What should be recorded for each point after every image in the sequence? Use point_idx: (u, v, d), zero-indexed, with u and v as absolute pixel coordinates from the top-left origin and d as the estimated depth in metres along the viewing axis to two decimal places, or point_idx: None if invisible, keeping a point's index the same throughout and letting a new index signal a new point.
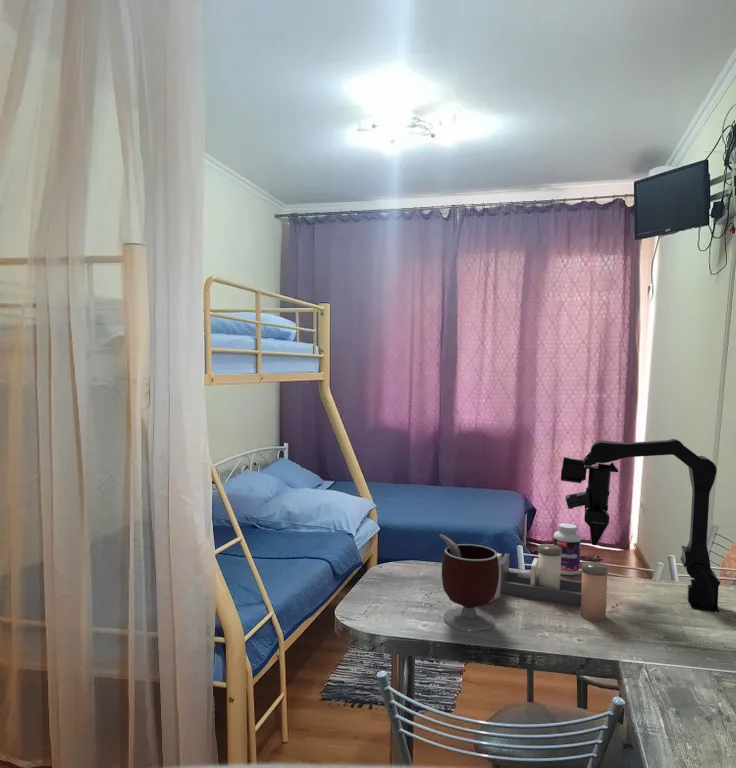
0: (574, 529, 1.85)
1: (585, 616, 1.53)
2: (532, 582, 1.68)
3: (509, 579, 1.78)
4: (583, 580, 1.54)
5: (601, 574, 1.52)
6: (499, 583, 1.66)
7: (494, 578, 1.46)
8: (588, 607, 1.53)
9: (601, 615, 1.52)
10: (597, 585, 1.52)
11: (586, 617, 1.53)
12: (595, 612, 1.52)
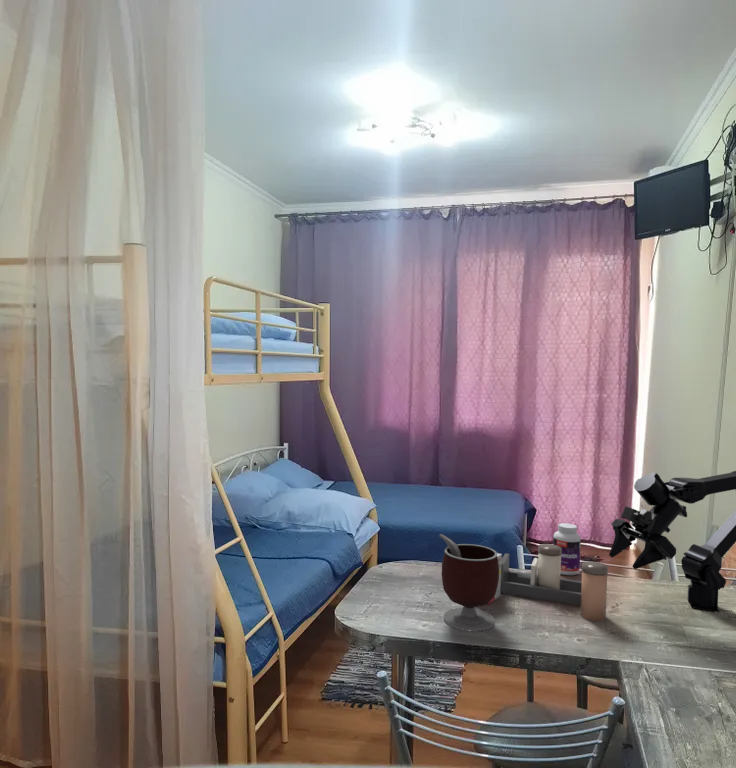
0: (574, 529, 1.85)
1: (585, 616, 1.53)
2: (532, 582, 1.68)
3: (509, 579, 1.78)
4: (583, 580, 1.54)
5: (601, 574, 1.52)
6: (499, 583, 1.66)
7: (494, 578, 1.46)
8: (588, 607, 1.53)
9: (601, 615, 1.52)
10: (597, 585, 1.52)
11: (586, 617, 1.53)
12: (595, 612, 1.52)
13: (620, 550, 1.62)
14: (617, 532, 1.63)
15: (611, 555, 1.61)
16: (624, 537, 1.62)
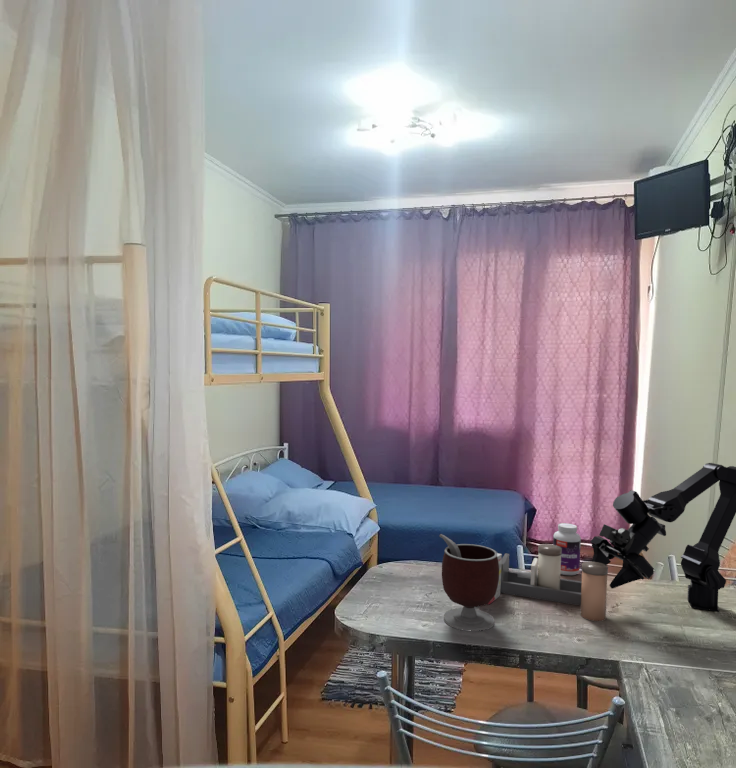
0: (574, 529, 1.85)
1: (585, 616, 1.53)
2: (532, 582, 1.68)
3: (509, 579, 1.78)
4: (583, 580, 1.54)
5: (601, 574, 1.52)
6: (499, 583, 1.66)
7: (494, 578, 1.46)
8: (588, 607, 1.53)
9: (601, 615, 1.52)
10: (597, 585, 1.52)
11: (586, 617, 1.53)
12: (595, 612, 1.52)
13: None
14: (596, 550, 1.61)
15: None
16: (603, 555, 1.61)
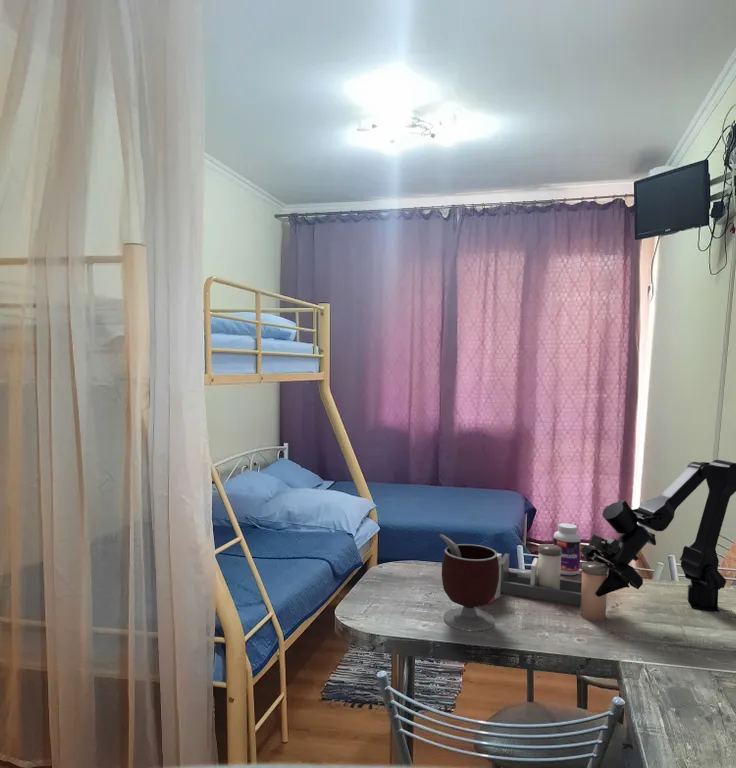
0: (574, 529, 1.85)
1: (585, 616, 1.53)
2: (532, 582, 1.68)
3: (509, 579, 1.78)
4: (583, 580, 1.54)
5: (601, 574, 1.52)
6: (499, 583, 1.66)
7: (494, 578, 1.46)
8: (588, 607, 1.53)
9: (601, 615, 1.52)
10: (596, 584, 1.52)
11: (586, 617, 1.53)
12: (595, 612, 1.52)
13: None
14: None
15: None
16: None
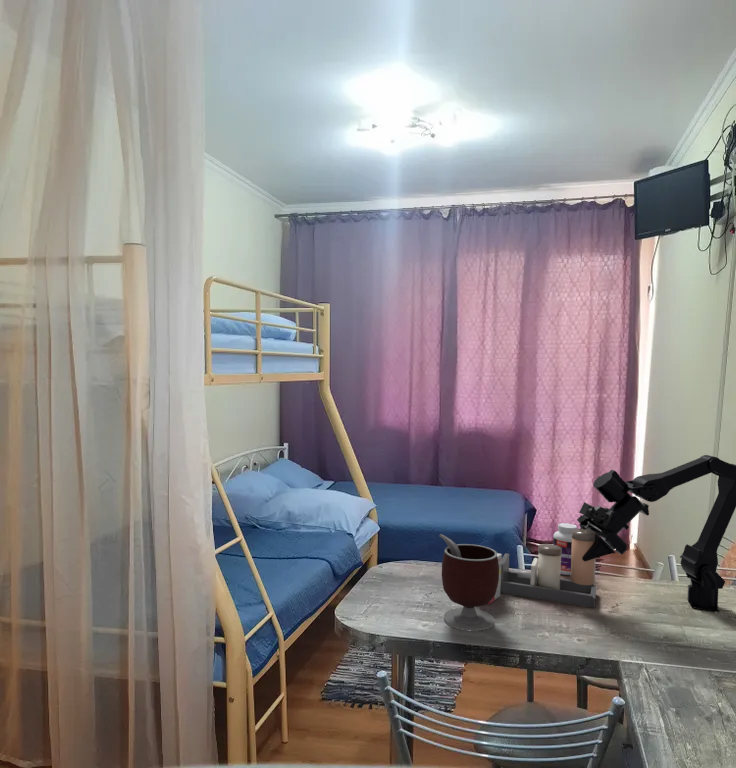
0: None
1: (573, 580, 1.60)
2: (532, 582, 1.68)
3: (509, 579, 1.78)
4: (572, 545, 1.61)
5: (588, 540, 1.58)
6: (499, 583, 1.66)
7: (494, 578, 1.46)
8: (576, 571, 1.59)
9: (588, 580, 1.58)
10: (583, 550, 1.58)
11: (574, 581, 1.60)
12: (582, 576, 1.58)
13: None
14: None
15: None
16: None
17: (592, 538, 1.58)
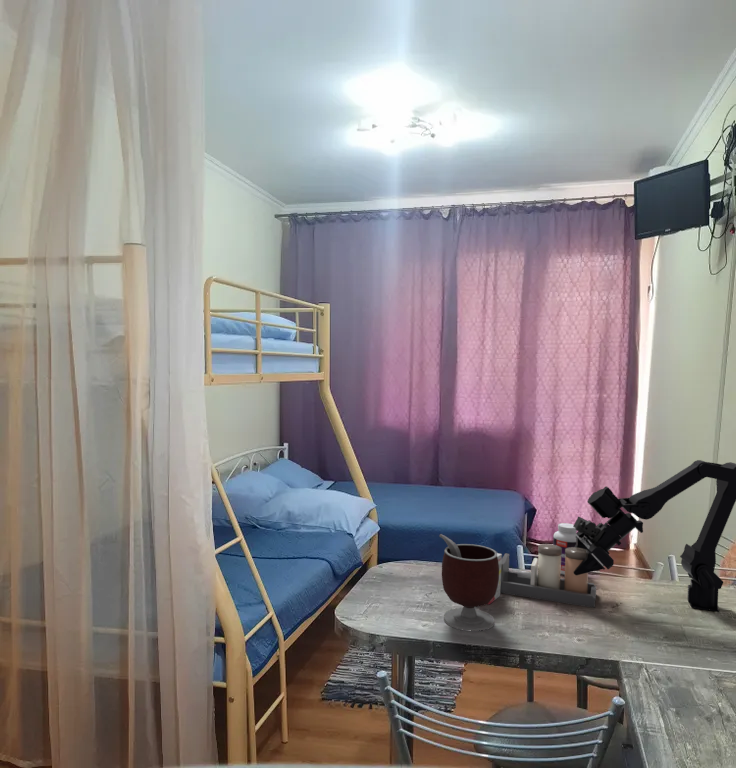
0: (574, 529, 1.85)
1: None
2: (532, 582, 1.68)
3: (509, 579, 1.78)
4: (565, 563, 1.67)
5: (578, 558, 1.64)
6: (499, 583, 1.66)
7: (494, 578, 1.46)
8: (567, 588, 1.66)
9: None
10: (574, 568, 1.64)
11: None
12: None
13: None
14: (577, 541, 1.72)
15: None
16: (583, 547, 1.71)
17: (583, 557, 1.64)
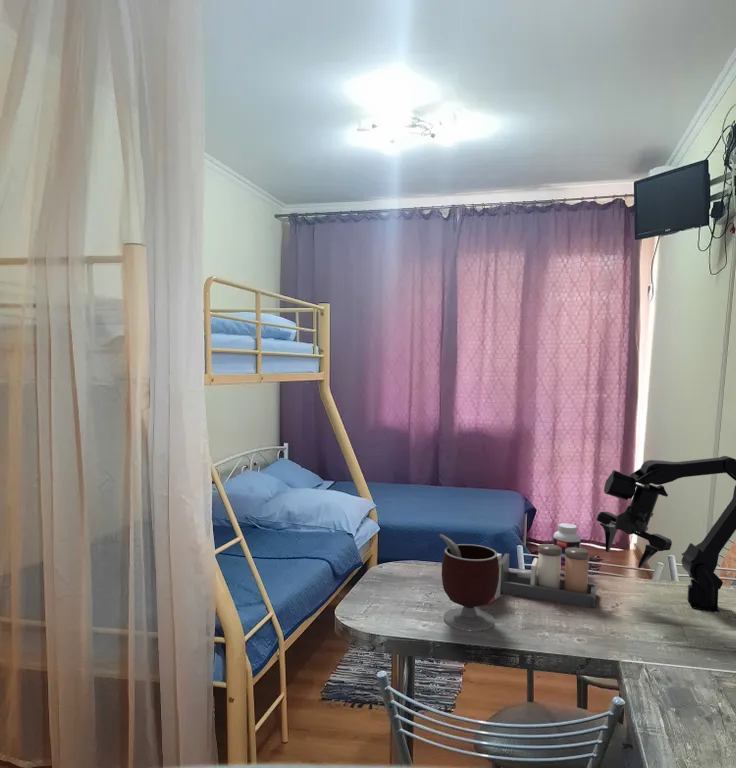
0: (574, 529, 1.85)
1: None
2: (532, 582, 1.68)
3: (509, 579, 1.78)
4: (565, 563, 1.67)
5: (578, 558, 1.64)
6: (499, 583, 1.66)
7: (494, 578, 1.46)
8: (567, 588, 1.66)
9: None
10: (574, 568, 1.64)
11: None
12: None
13: (612, 541, 1.70)
14: (607, 529, 1.68)
15: (607, 551, 1.69)
16: (612, 529, 1.69)
17: (583, 557, 1.64)
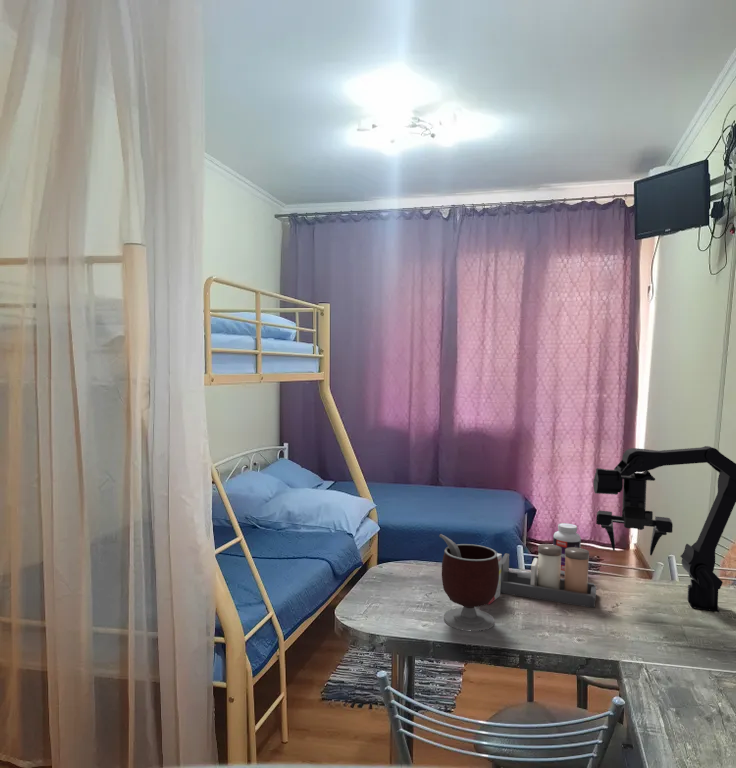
0: (574, 529, 1.85)
1: None
2: (532, 582, 1.68)
3: (509, 579, 1.78)
4: (565, 563, 1.67)
5: (578, 558, 1.64)
6: (499, 583, 1.66)
7: (494, 578, 1.46)
8: (567, 588, 1.66)
9: None
10: (574, 568, 1.64)
11: None
12: None
13: None
14: (610, 529, 1.66)
15: (614, 549, 1.68)
16: None
17: (583, 557, 1.64)
